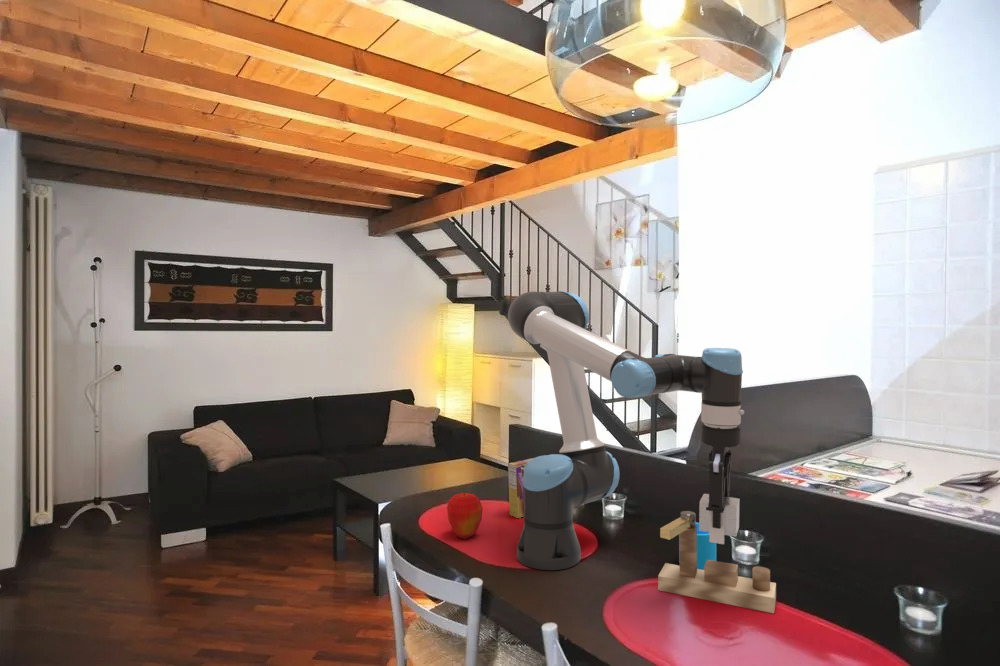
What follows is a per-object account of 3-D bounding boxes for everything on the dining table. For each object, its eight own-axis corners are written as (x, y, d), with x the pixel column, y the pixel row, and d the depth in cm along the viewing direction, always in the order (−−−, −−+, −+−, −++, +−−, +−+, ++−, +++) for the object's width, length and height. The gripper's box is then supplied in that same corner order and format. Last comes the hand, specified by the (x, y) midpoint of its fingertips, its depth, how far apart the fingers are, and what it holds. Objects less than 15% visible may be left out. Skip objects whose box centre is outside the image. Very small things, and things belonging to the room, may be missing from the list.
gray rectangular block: (699, 530, 120) (699, 501, 120) (703, 521, 125) (703, 493, 125) (736, 536, 117) (736, 506, 117) (739, 527, 122) (739, 498, 122)
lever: (684, 521, 126) (684, 510, 126) (698, 524, 124) (698, 513, 124) (658, 536, 118) (657, 524, 118) (672, 540, 116) (671, 528, 116)
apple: (489, 535, 156) (489, 489, 155) (465, 545, 149) (464, 498, 149) (464, 527, 162) (464, 483, 161) (440, 536, 155) (439, 491, 155)
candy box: (532, 508, 176) (531, 457, 176) (541, 512, 173) (540, 460, 172) (508, 515, 171) (507, 462, 170) (517, 519, 167) (516, 465, 167)
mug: (704, 574, 131) (704, 538, 130) (672, 563, 137) (672, 528, 137) (731, 559, 139) (731, 524, 138) (699, 549, 145) (699, 516, 144)
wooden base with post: (658, 590, 124) (657, 527, 123) (665, 576, 130) (665, 517, 130) (774, 613, 114) (774, 545, 113) (776, 597, 120) (776, 533, 119)
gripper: (735, 435, 110) (733, 558, 111) (745, 418, 127) (743, 525, 128) (693, 431, 114) (691, 550, 115) (708, 415, 130) (706, 519, 131)
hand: (718, 536), depth 121 cm, fingers closed on gray rectangular block, 5 cm apart
